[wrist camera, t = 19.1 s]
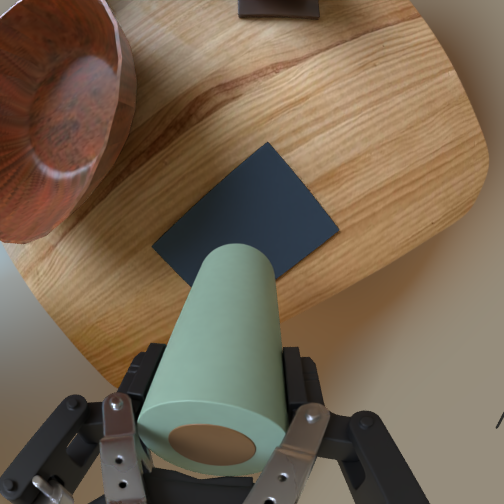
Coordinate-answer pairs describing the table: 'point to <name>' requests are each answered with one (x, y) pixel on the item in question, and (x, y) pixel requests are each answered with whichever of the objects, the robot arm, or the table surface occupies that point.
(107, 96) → the bowl
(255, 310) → the green cylinder
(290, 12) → the phone stand
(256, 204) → the mat
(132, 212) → the table surface
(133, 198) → the table surface
